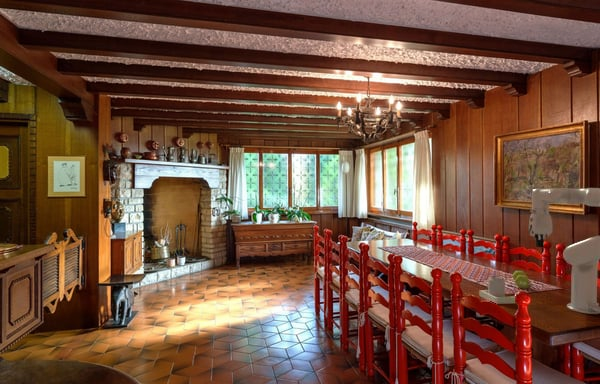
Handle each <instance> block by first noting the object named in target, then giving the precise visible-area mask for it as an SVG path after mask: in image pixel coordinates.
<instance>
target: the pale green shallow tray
mask: <svg viewBox="0 0 600 384" xmlns="http://www.w3.org/2000/svg"><path fill="white" fill-rule="evenodd" d="M478 291H479V292H478V293H479V297H481V298H482V299H484V300H487V301H488V302H490V301H492V302H494V303H496V304H495V305H498V304H499V305H500V304H516V302H515V296H505V297H495V296H493V295H491V294H489V293H488V289H484V290H483V289H482V290H480V289H479V290H478ZM492 302H491V303H492ZM494 303H493V304H494Z"/></svg>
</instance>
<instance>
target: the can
mask: <svg viewBox="0 0 600 384" xmlns="http://www.w3.org/2000/svg"><path fill="white" fill-rule="evenodd" d="M487 280H488V281H487V282H488V288H487V290H488V293H489V294H491V295H493V296H495V297H506V280H505V278H504V276H501V275H490V276H489V278H488V279H487Z"/></svg>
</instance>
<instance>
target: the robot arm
mask: <svg viewBox="0 0 600 384" xmlns="http://www.w3.org/2000/svg"><path fill="white" fill-rule="evenodd" d="M550 204H581V205H586V206H588V207H600V188H599V187H587V188H570V187H569V188H566V187H565V188H564V187H558V188H557V187H556V188H555V187H551V188H533V189H532V191H531V209H530V210H529V212H530V213H531V214H530V216H529V221H528V222H529V223H528V232H529V236H531V237H534V240H535V246H536V247H537V248H544V247H545V246H544V244H545V243H544V240H546V238H547V237H550V236H551V235H552V233H553V219H552V216H551V214H550ZM562 256H563V259H564V261H566V263H567V264H570V265H571V283H570V285H571V286H570V287H571V289H570V290H571V291H570V292H571V293H570V302H569V303H567V304H566V308H568V310H571V311H573V312H577V313H581V314H589V315H599V314H600V306H599V305H600V303H599V302H597V301H598V299H597V297H598V293H597V291H598V290H597V289H598V268H599V263H600V235H596V236H592V237H589V238H586V239H584V240H581V241H578V242H576V243H573V244H571V245H568V246H566V247H565V248H564V249H563V253H562Z"/></svg>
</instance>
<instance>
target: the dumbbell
mask: <svg viewBox="0 0 600 384" xmlns="http://www.w3.org/2000/svg"><path fill="white" fill-rule="evenodd" d="M511 277H512V278H513V280H514V283H515V285H516V286H517V288H518V289H519V288H520V289H527V288H529V286H530V285H531V280H530V279H529V277H528V276H527V274H526V273H525V272H524V271H523V270H515V271H514V272H513V274H512V276H511Z"/></svg>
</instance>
